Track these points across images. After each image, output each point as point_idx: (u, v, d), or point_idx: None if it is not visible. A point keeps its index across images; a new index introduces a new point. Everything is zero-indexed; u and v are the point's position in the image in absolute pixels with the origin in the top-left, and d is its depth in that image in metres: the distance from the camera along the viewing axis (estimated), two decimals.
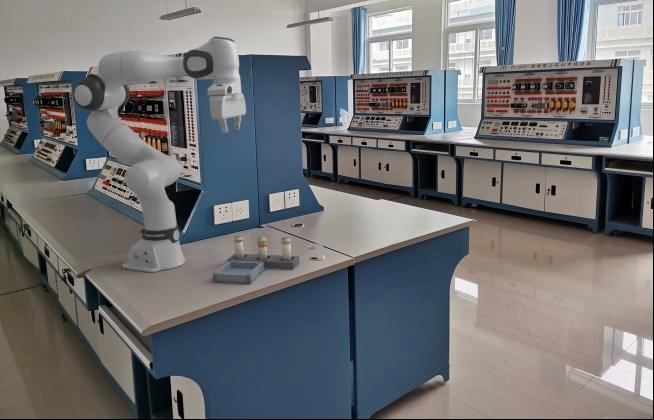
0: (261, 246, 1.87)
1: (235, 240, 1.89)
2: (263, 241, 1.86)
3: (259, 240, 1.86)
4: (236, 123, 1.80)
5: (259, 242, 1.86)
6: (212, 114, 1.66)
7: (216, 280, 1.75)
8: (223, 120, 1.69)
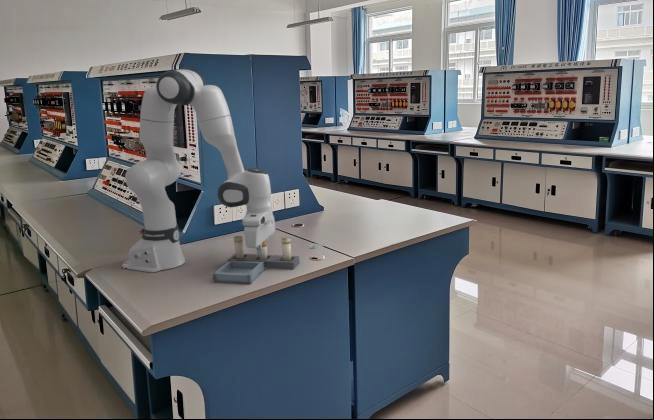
0: None
1: (235, 240, 1.89)
2: None
3: None
4: None
5: None
6: (247, 243, 1.78)
7: (216, 280, 1.75)
8: (259, 244, 1.84)
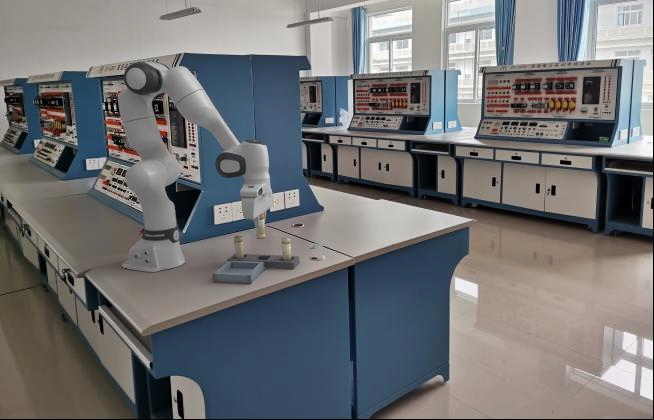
0: None
1: (235, 240, 1.89)
2: (261, 214, 1.84)
3: None
4: None
5: None
6: (244, 215, 1.76)
7: (216, 280, 1.75)
8: (256, 217, 1.81)
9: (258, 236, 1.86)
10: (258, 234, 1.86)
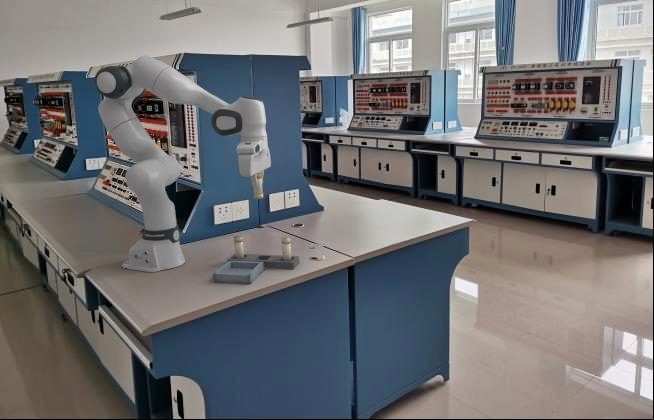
0: None
1: (235, 240, 1.89)
2: None
3: None
4: None
5: None
6: (241, 172, 1.72)
7: (216, 280, 1.75)
8: (254, 175, 1.78)
9: (256, 196, 1.82)
10: (256, 194, 1.82)
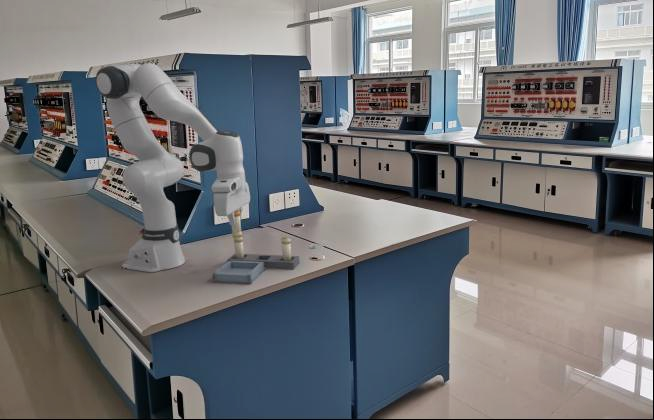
0: (234, 216, 1.73)
1: (235, 240, 1.89)
2: (236, 210, 1.73)
3: None
4: None
5: None
6: (216, 211, 1.64)
7: (216, 280, 1.75)
8: (231, 213, 1.70)
9: (234, 234, 1.74)
10: (234, 232, 1.74)
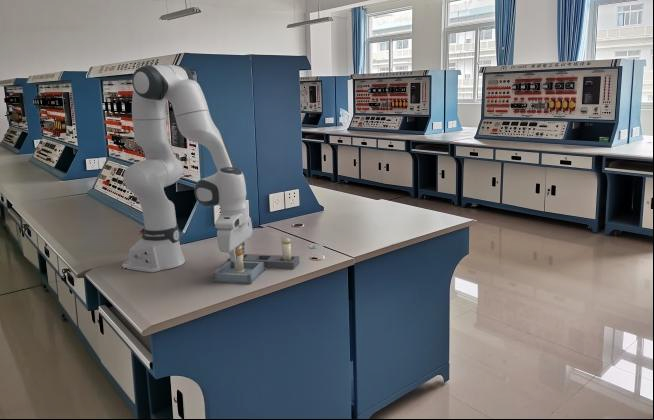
0: None
1: None
2: (238, 249, 1.75)
3: None
4: None
5: None
6: (220, 248, 1.67)
7: (216, 280, 1.75)
8: (232, 250, 1.72)
9: (237, 272, 1.78)
10: (236, 270, 1.78)
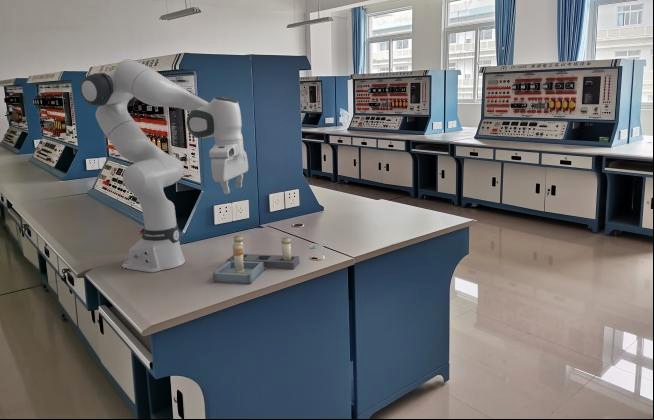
0: (237, 254, 1.76)
1: (235, 240, 1.89)
2: (239, 249, 1.76)
3: (235, 248, 1.76)
4: (238, 181, 1.78)
5: (235, 250, 1.76)
6: (214, 177, 1.63)
7: (216, 280, 1.75)
8: (225, 182, 1.66)
9: (237, 272, 1.78)
10: (237, 270, 1.78)
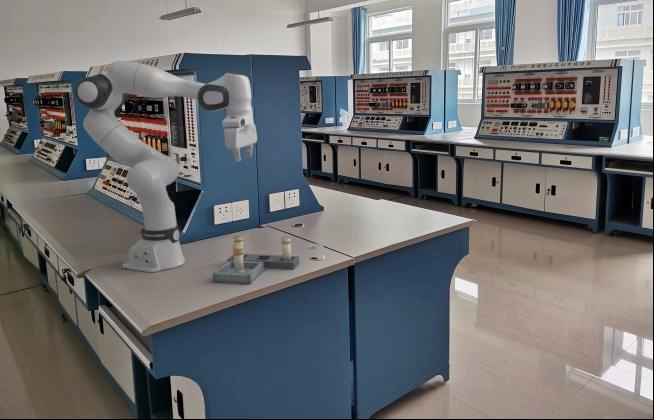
0: (237, 254, 1.76)
1: (235, 240, 1.89)
2: (239, 249, 1.76)
3: (234, 248, 1.76)
4: (248, 151, 1.92)
5: (235, 250, 1.76)
6: (227, 145, 1.78)
7: (216, 280, 1.75)
8: (237, 150, 1.81)
9: (237, 272, 1.78)
10: (237, 270, 1.78)
